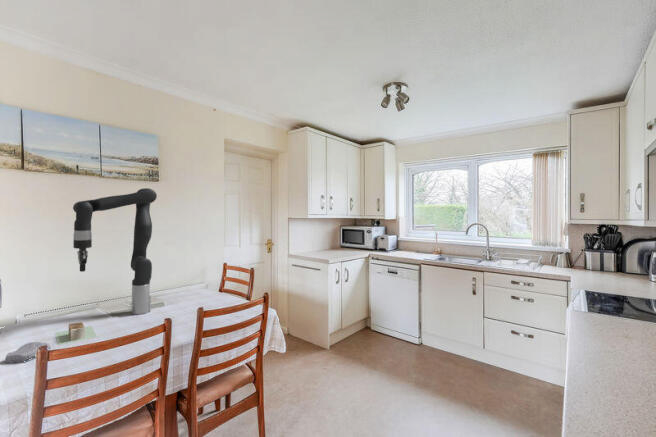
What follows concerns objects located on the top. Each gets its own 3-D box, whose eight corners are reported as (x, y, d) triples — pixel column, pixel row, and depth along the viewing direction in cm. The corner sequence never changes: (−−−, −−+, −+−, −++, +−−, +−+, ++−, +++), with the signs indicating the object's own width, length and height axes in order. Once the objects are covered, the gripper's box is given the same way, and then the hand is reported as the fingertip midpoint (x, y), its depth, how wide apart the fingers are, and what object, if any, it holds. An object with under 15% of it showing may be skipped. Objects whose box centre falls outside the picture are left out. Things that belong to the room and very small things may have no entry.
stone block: (52, 353, 132) (28, 349, 131) (55, 343, 132) (30, 339, 131) (28, 368, 120) (1, 364, 119) (31, 357, 120) (4, 352, 119)
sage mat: (91, 327, 157) (91, 325, 157) (97, 338, 145) (97, 336, 144) (55, 334, 147) (55, 332, 147) (58, 346, 134) (58, 345, 134)
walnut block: (82, 321, 149) (84, 327, 142) (81, 331, 149) (84, 338, 142) (68, 324, 146) (71, 330, 139) (68, 334, 146) (70, 341, 139)
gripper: (93, 239, 157) (93, 272, 158) (89, 237, 166) (89, 268, 167) (75, 240, 152) (75, 274, 152) (71, 238, 161) (71, 270, 161)
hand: (82, 271), depth 160 cm, fingers closed
